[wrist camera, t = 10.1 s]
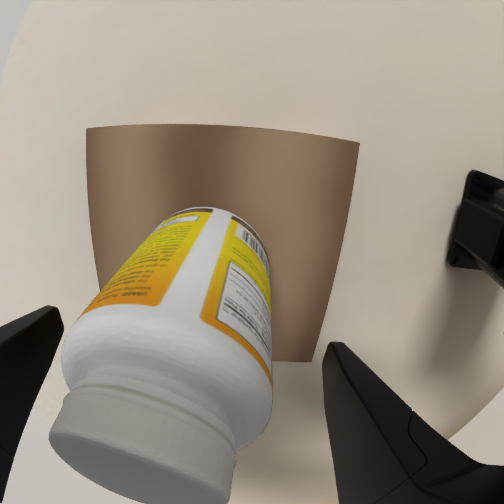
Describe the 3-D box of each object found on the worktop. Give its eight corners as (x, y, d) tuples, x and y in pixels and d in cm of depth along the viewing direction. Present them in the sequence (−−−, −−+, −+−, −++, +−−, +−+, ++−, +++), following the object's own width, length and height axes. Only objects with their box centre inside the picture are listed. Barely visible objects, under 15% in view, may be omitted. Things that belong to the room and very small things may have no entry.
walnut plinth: (340, 139, 14) (359, 143, 11) (305, 330, 19) (311, 362, 16) (114, 126, 14) (86, 128, 11) (127, 311, 19) (111, 339, 16)
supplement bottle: (140, 284, 14) (36, 459, 5) (172, 182, 12) (-17, 343, 3) (241, 326, 15) (217, 527, 6) (292, 235, 13) (334, 478, 3)
